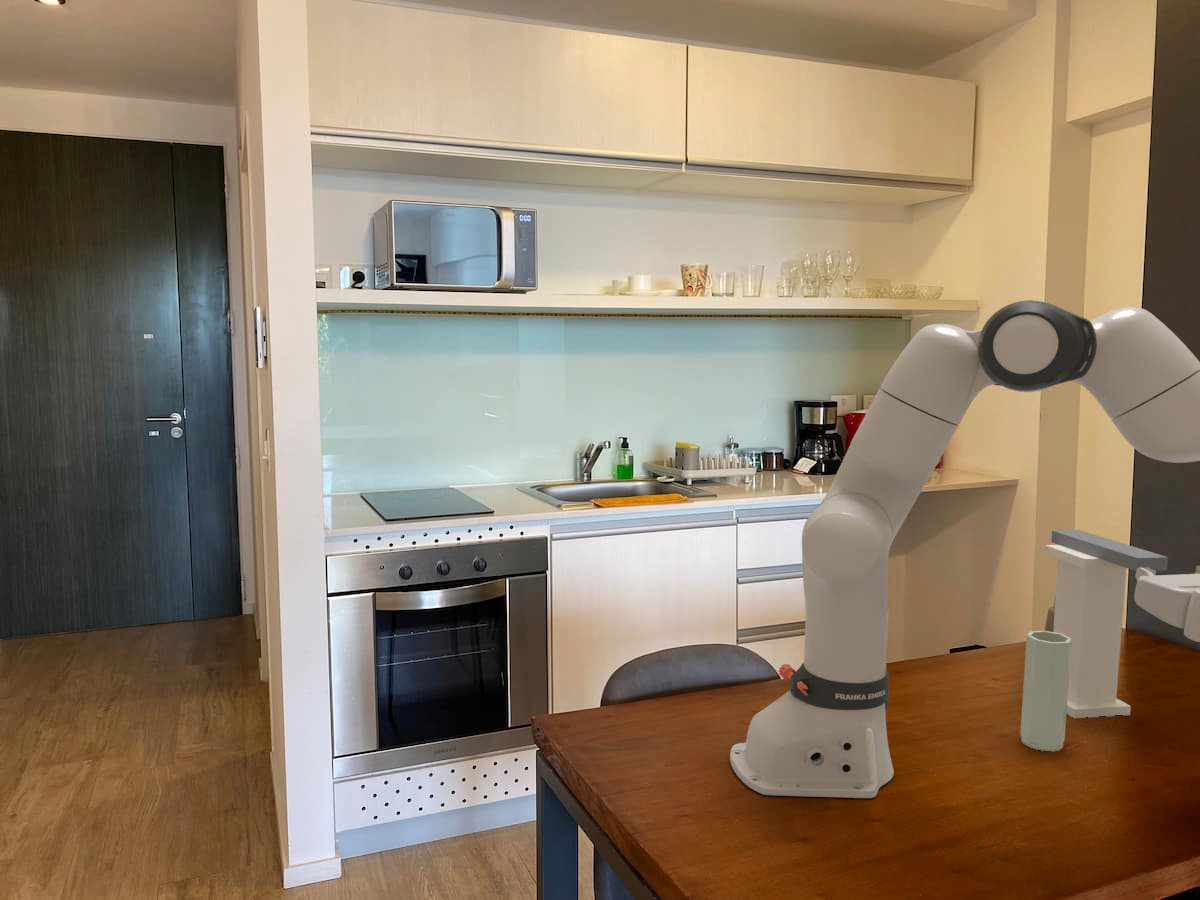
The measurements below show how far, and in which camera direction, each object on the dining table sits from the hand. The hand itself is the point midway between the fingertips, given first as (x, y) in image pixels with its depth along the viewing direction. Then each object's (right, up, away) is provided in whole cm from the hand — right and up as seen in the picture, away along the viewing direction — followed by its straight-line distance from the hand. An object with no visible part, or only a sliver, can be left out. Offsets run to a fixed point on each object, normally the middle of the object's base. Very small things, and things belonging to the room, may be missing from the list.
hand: (1170, 571), depth 126 cm
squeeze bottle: (+5, -24, +39) cm, 46 cm away
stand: (+1, -26, +26) cm, 36 cm away
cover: (+2, 0, +20) cm, 20 cm away
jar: (-13, -27, +10) cm, 32 cm away
